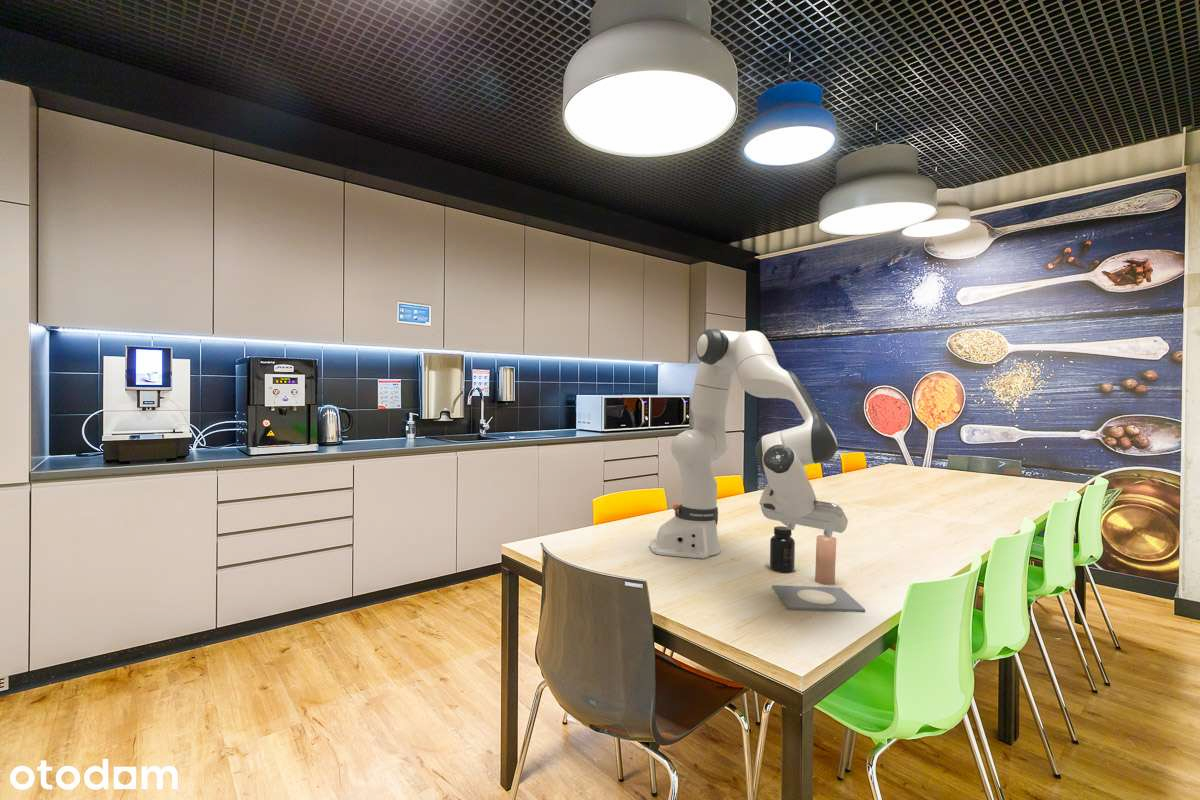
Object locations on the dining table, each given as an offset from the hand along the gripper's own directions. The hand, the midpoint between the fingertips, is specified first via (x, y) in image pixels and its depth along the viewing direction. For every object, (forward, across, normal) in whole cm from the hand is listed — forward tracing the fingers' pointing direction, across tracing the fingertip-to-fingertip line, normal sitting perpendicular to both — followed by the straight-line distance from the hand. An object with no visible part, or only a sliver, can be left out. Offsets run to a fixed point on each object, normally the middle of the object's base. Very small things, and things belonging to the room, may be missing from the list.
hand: (810, 531), depth 140 cm
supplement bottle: (+21, +13, +2) cm, 25 cm away
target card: (+10, -3, +13) cm, 17 cm away
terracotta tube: (+20, 0, +3) cm, 20 cm away
